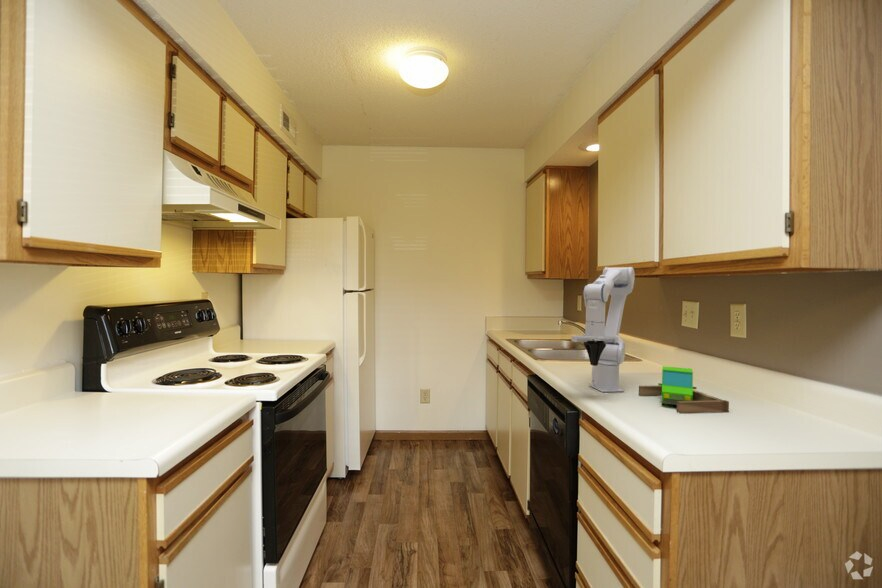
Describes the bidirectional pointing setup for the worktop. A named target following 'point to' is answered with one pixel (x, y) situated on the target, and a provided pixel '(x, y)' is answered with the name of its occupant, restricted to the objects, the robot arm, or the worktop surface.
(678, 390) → the toy car
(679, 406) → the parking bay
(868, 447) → the worktop surface
